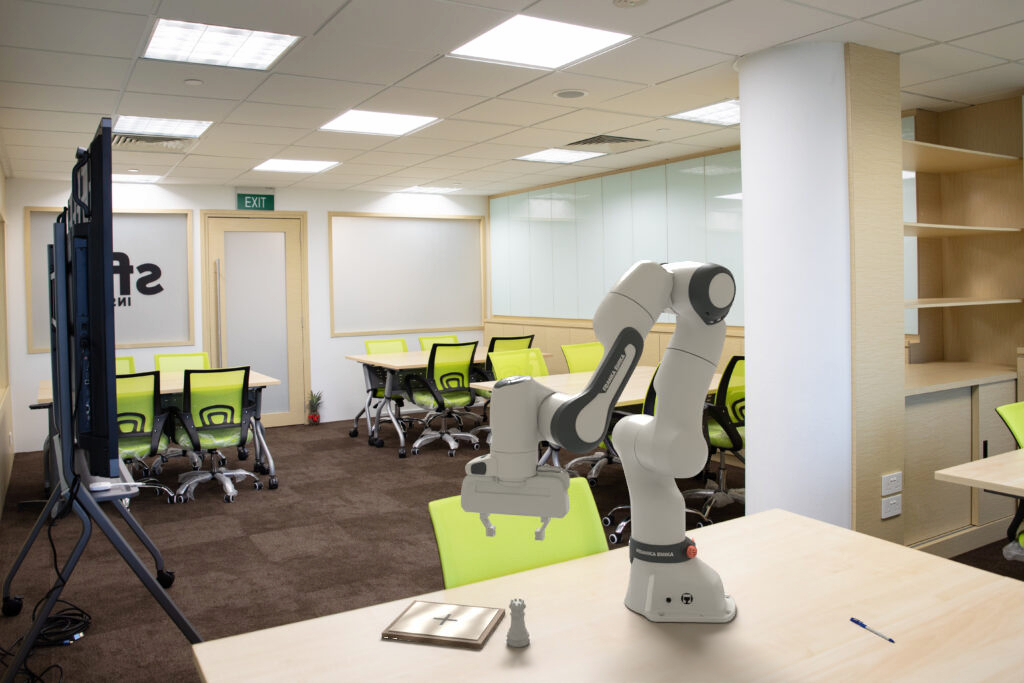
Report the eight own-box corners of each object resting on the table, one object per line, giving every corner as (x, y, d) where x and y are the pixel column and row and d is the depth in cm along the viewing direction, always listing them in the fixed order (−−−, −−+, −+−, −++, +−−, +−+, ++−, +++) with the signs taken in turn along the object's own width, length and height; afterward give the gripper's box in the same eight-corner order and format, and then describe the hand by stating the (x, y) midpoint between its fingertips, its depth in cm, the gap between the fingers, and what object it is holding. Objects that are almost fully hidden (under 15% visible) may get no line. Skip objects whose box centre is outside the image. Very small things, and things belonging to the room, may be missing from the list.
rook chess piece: (505, 638, 144) (504, 596, 144) (528, 636, 145) (527, 595, 144) (507, 649, 140) (506, 606, 139) (531, 647, 140) (530, 605, 140)
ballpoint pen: (848, 621, 149) (848, 616, 149) (851, 620, 149) (852, 615, 149) (892, 643, 139) (892, 638, 139) (896, 643, 139) (896, 637, 139)
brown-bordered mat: (505, 613, 155) (505, 607, 155) (481, 648, 140) (480, 642, 140) (414, 604, 161) (414, 599, 161) (381, 637, 145) (381, 631, 145)
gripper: (572, 463, 141) (573, 536, 141) (468, 458, 146) (469, 528, 147) (566, 470, 134) (566, 547, 135) (457, 465, 140) (458, 538, 141)
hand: (515, 537), depth 141 cm, fingers open, 8 cm apart
